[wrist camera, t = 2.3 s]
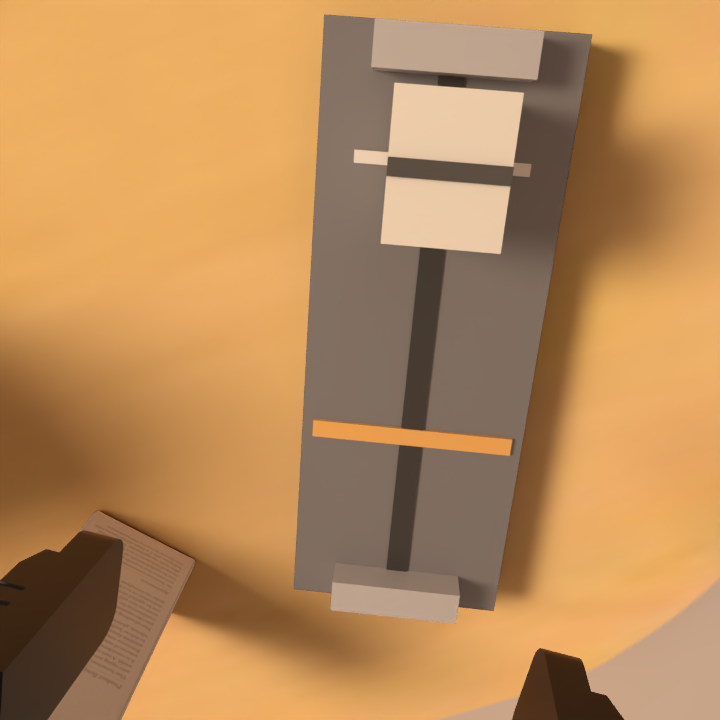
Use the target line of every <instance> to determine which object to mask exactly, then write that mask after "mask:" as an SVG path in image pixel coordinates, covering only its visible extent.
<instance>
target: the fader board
mask: <svg viewBox="0 0 720 720" xmlns="http://www.w3.org/2000/svg"><path fill="white" fill-rule="evenodd" d="M591 39H592V34H580V33H566V32H553V31H541V30H528V29H514V28H501V27H487V26H474V25H460V24H447V23H433V22H420V21H406V20H393V19H379V18H364V17H350V16H337V15H324V30H323V49H322V68H321V87H320V106H319V125H318V143H317V162H316V181H315V200H314V219H313V237H312V256H311V275H310V294H309V313H308V332H307V350H306V369H305V388H304V407H303V426H302V444H301V463H300V482H299V501H298V520H297V539H296V557H295V576H294V589H298V590H307V591H317V592H326V593H332V594H331V608H330V610H334V611H343V612H352V613H361V614H370V615H379V616H388V617H397V618H406V619H415V620H424V621H433V622H442V623H451V624H456V619H457V612H458V607H463V608H472V609H481V610H490V611H494V606H495V600H496V594H497V589H498V583H499V577H500V571H501V565H502V559H503V553H504V548H505V542H506V536H507V530H508V524H509V518H510V513H511V507H512V501H513V495H514V489H515V483H516V477H517V472H518V466H519V460H520V454H521V448H522V442H523V436H524V431H525V425H526V419H527V413H528V407H529V401H530V396H531V390H532V384H533V378H534V372H535V366H536V360H537V355H538V349H539V343H540V337H541V331H542V325H543V319H544V314H545V308H546V302H547V296H548V290H549V284H550V278H551V273H552V267H553V261H554V255H555V249H556V243H557V238H558V232H559V226H560V220H561V214H562V208H563V202H564V197H565V191H566V185H567V179H568V173H569V167H570V161H571V156H572V150H573V144H574V138H575V132H576V126H577V120H578V115H579V109H580V103H581V97H582V91H583V85H584V80H585V74H586V68H587V62H588V56H589V50H590V44H591ZM394 83H406V84H419V85H432V86H445V87H457V88H470V89H483V90H496V91H509V92H522V93H524V96H523V103H522V110H521V117H520V124H519V131H518V138H517V144H516V151H515V158H514V165H513V167H514V170H513V177H512V184H511V186H510V193H509V200H508V207H507V214H506V220H505V227H504V234H503V241H502V248H501V254H494V253H483V252H471V251H460V250H448V249H437V248H426V247H414V246H403V245H391V244H381V233H382V221H383V209H384V198H385V186H386V173H387V161H388V151H389V140H390V128H391V117H392V105H393V93H394Z"/></svg>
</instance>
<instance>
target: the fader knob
mask: <svg viewBox="0 0 720 720" xmlns="http://www.w3.org/2000/svg"><path fill="white" fill-rule="evenodd" d="M523 96H524V93H522V92H509V91H496V90H483V89H470V88H457V87H445V86H432V85H419V84H406V83H394V93H393V105H392V117H391V128H390V140H389V151H388V161H387V173H386V186H385V198H384V209H383V221H382V233H381V244H391V245H403V246H414V247H426V248H437V249H448V250H460V251H471V252H483V253H494V254H501V248H502V241H503V234H504V227H505V220H506V214H507V207H508V200H509V193H510V186H511V184H512V177H513V170H514V167H513V165H514V158H515V151H516V144H517V138H518V131H519V124H520V117H521V110H522V103H523Z"/></svg>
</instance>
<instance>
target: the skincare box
mask: <svg viewBox="0 0 720 720" xmlns="http://www.w3.org/2000/svg"><path fill="white" fill-rule="evenodd" d="M83 530H86V531H90V532H94V533H98V534H102V535H106V536H110V537H113V538H117V539H121V540H122V542H123V557H122V565H121V574H120V582H119V591H118V599H117V607H116V611H115V615H114V618H113V621H112V624H111V627H110V629H109V631H108V633H107V635H106V637H105V639H104V640H103V642H102V643H101V645H100V646H99V647H98V649H97V650H96V652H95V653H94V655H93V656H92V657H91V659H90V660H89V662H88V663H87V665H86V666H85V667H84V669H83V670H82V672H81V673H80V674H79V676H78V677H77V679H76V680H75V682H74V683H73V684H72V686H71V687H70V689H69V690H68V691H67V693H66V694H65V696H64V697H63V699H62V700H61V701H60V703H59V704H58V706H57V707H56V709H55V710H54V711H53V713H52V714H51V716H50V717H49V718H48V720H121V719H122V717H123V715H124V712H125V710H126V708H127V706H128V704H129V702H130V699H131V697H132V695H133V693H134V691H135V689H136V687H137V685H138V682H139V680H140V678H141V676H142V674H143V672H144V670H145V668H146V666H147V664H148V662H149V659H150V657H151V655H152V653H153V651H154V649H155V647H156V645H157V642H158V640H159V638H160V636H161V634H162V632H163V630H164V628H165V626H166V624H167V622H168V620H169V618H170V616H171V613H172V611H173V609H174V607H175V605H176V603H177V601H178V599H179V597H180V594H181V592H182V590H183V588H184V586H185V584H186V582H187V580H188V578H189V576H190V574H191V572H192V570H193V567H194V565H195V560H194V559H192V558H190V557H188V556H186V555H184V554H182V553H180V552H178V551H176V550H174V549H172V548H170V547H168V546H166V545H164V544H163V543H161V542H159V541H157V540H155V539H153V538H151V537H149V536H147V535H145V534H143V533H141V532H139V531H137V530H135V529H133V528H131V527H129V526H127V525H125V524H123V523H121V522H119V521H117V520H115V519H113V518H112V517H109V516H107V515H106V514H104V513H102V512H100V511H96V512H95V513H94V514H93V515H92V516H91V517H90V519H89V520H88V521H87V522H86V524H85V525H84V526H83V527H82V529H81V530H80V531H79V532H81V531H83Z"/></svg>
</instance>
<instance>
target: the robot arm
mask: <svg viewBox="0 0 720 720" xmlns="http://www.w3.org/2000/svg"><path fill="white" fill-rule="evenodd" d="M122 557H123V542H122V540H121V539H117V538H113V537H110V536H106V535H102V534H98V533H94V532H90V531H86V530H83V531H81V532H79V533H78V534H77V535H76V536H75V537H74V538H73V539H72V540H71V541H70V542H69V543H68V544H67V545H66V546H65V547H64V548H63V549H62V550H61V551H60V552H55V551H51V550H47V549H46V550H44V551H42V552H40V553H38V554H35V555H33V556H31V557H29V558H27V559H25V560H23V561H21V562H19V563H18V564H17V565H16V566H15V567H14V568H13V569H12V570H11V571H10V572H9V573H8V574H7V575H5V576H4V577H3V578H2V579H1V580H0V720H48V718H49V717H50V716H51V714H52V713H53V711H54V710H55V709H56V707H57V706H58V704H59V703H60V701H61V700H62V699H63V697H64V696H65V694H66V693H67V691H68V690H69V689H70V687H71V686H72V684H73V683H74V682H75V680H76V679H77V677H78V676H79V674H80V673H81V672H82V670H83V669H84V667H85V666H86V665H87V663H88V662H89V660H90V659H91V657H92V656H93V655H94V653H95V652H96V650H97V649H98V647H99V646H100V645H101V643H102V642H103V640H104V639H105V637H106V635H107V633H108V631H109V629H110V627H111V624H112V621H113V618H114V615H115V611H116V607H117V599H118V591H119V582H120V574H121V565H122ZM512 720H624V719H623V718H622V716H621V715H620V713H619V712H618V711H617V709H616V708H615V706H614V705H613V704H612V702H611V701H610V700H609V698H608V697H607V696H606V695H602V694H598V693H595V692H591V690H590V686H589V683H588V679H587V675H586V671H585V668H584V665H583V662H582V660H581V659H580V658H576V657H572V656H568V655H565V654H561V653H557V652H553V651H549V650H545V649H541V648H540V649H538V650H537V652H536V653H535V655H534V658H533V660H532V663H531V666H530V669H529V672H528V674H527V677H526V680H525V683H524V686H523V689H522V691H521V694H520V697H519V700H518V703H517V706H516V708H515V711H514V715H513V719H512Z"/></svg>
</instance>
